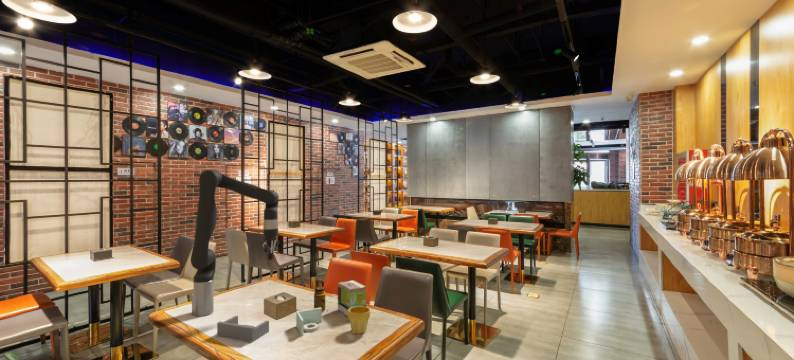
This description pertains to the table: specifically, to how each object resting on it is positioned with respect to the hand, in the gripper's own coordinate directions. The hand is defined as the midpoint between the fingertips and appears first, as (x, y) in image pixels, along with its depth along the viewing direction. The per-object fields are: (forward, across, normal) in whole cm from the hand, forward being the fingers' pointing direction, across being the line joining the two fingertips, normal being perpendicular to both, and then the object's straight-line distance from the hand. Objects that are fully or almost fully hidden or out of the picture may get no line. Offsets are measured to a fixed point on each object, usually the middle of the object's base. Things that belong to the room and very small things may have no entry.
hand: (270, 259), depth 186 cm
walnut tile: (+27, +28, +8) cm, 40 cm away
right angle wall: (+28, +14, +34) cm, 46 cm away
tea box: (+27, -11, +43) cm, 52 cm away
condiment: (+27, -7, +25) cm, 38 cm away
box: (+27, +28, +8) cm, 40 cm away
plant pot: (+27, +9, +56) cm, 63 cm away
